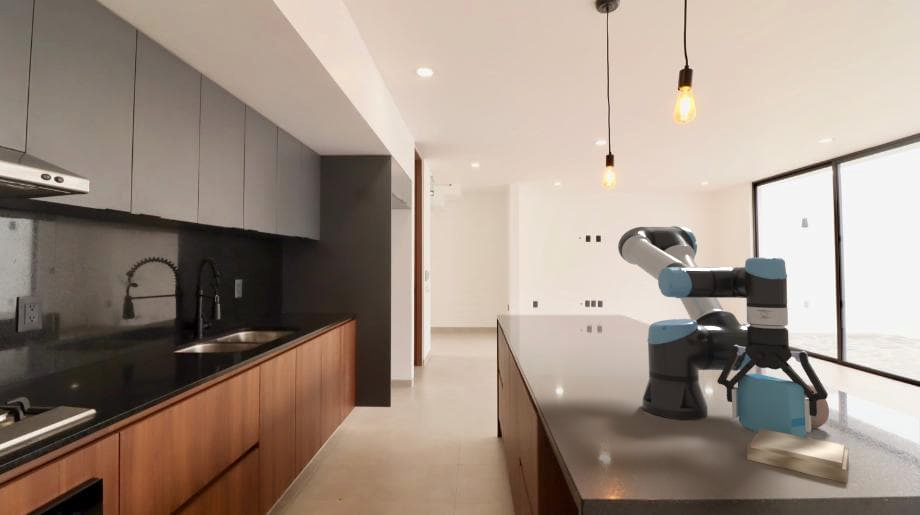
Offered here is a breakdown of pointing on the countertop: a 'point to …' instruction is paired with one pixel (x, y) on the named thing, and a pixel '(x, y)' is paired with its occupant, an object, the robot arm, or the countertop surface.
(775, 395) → the blue box
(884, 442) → the countertop surface
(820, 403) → the egg
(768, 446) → the stand
